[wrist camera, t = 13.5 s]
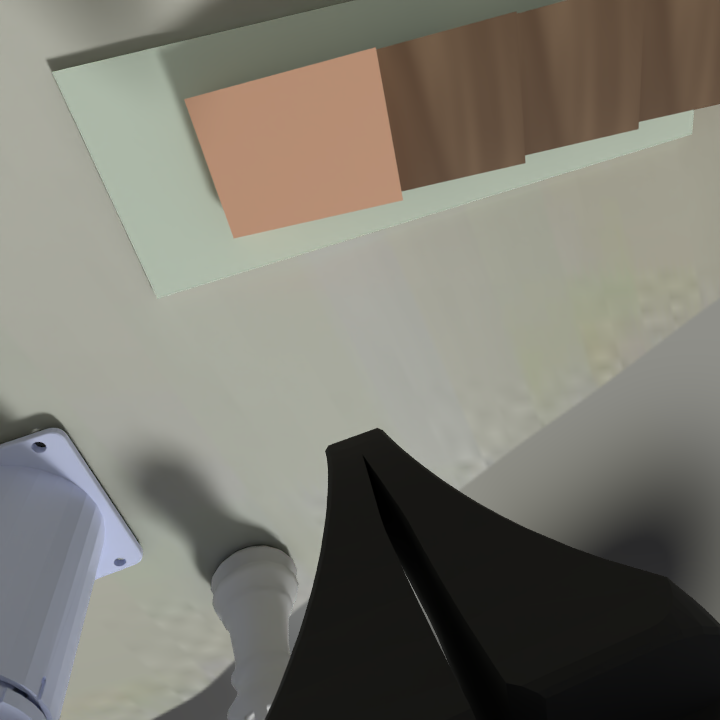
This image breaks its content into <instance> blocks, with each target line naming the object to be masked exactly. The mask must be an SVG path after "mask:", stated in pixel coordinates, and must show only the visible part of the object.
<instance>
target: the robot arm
mask: <svg viewBox="0 0 720 720" xmlns="http://www.w3.org/2000/svg"><path fill="white" fill-rule="evenodd" d="M35 442H42V443H44V444H45V445H46V447H38V446H37V445H36V444H35ZM325 452H326V456H327V463H328V496H327V510H326V519H325V526H324V533H323V540H322V546H321V552H320V557H319V562H318V566H317V571H316V575H315V579H314V583H313V588H312V591H311V595H310V598H309V602H308V605H307V609H306V613H305V616H304V619H303V622H302V626H301V629H300V632H299V635H298V638H297V640H296V643H295V646H294V648H293V651H292V654H291V656H290V659H289V662H288V664H287V667H286V670H285V672H284V675H283V678H282V680H281V683H280V686H279V688H278V690H277V693H276V695H275V698H274V700H273V702H272V704H271V707H270V709H269V711H268V713H267V715H266V718H265V720H720V624H719V623H718V622H717V621H716V620H715V619H714V618H713V617H712V616H711V615H710V614H709V613H708V612H707V611H706V610H705V609H704V608H703V607H702V606H701V605H700V604H698V603H697V602H696V601H695V600H694V599H693V598H692V597H690V596H689V595H688V594H686V593H685V592H684V591H683V590H682V589H680V588H679V587H678V586H677V585H675V584H674V583H673V582H672V581H671V580H670V579H668V578H667V577H664V576H661V575H658V574H654V573H651V572H647V571H643V570H640V569H637V568H633V567H630V566H627V565H623V564H620V563H616V562H613V561H609V560H606V559H603V558H600V557H597V556H594V555H592V554H589V553H586V552H583V551H580V550H577V549H575V548H572V547H570V546H567V545H565V544H563V543H560V542H558V541H556V540H553V539H551V538H548V537H546V536H544V535H541V534H539V533H536V532H534V531H532V530H529V529H527V528H525V527H523V526H521V525H519V524H517V523H515V522H513V521H511V520H509V519H507V518H505V517H503V516H501V515H499V514H497V513H495V512H494V511H492V510H490V509H488V508H486V507H484V506H483V505H481V504H479V503H477V502H476V501H474V500H472V499H471V498H469V497H467V496H466V495H464V494H463V493H461V492H460V491H458V490H457V489H455V488H453V487H452V486H450V485H449V484H447V483H446V482H445V481H443V480H442V479H440V478H439V477H437V476H436V475H435V474H433V473H432V472H431V471H429V470H428V469H427V468H425V467H424V466H423V465H421V464H420V463H419V462H417V461H416V460H415V459H414V458H412V457H411V456H410V455H409V454H408V453H406V452H405V451H404V450H403V449H402V448H401V447H399V446H398V445H397V444H396V443H395V442H394V441H393V440H392V439H391V438H390V437H389V436H388V435H387V434H386V433H385V432H384V431H383V430H381V429H379V428H376V429H373V430H370V431H368V432H365V433H362V434H359V435H357V436H354V437H351V438H348V439H345V440H343V441H340V442H337V443H334V444H332V445H329V446H328V447H327V449H326V451H325ZM142 556H143V549H142V547H141V546H140V544H139V543H138V541H137V540H136V538H135V537H134V535H133V534H132V532H131V531H130V529H129V528H128V526H127V525H126V523H125V522H124V520H123V519H122V517H121V516H120V514H119V512H118V511H117V509H116V508H115V506H114V505H113V503H112V502H111V500H110V499H109V497H108V496H107V494H106V493H105V491H104V490H103V488H102V487H101V485H100V484H99V482H98V481H97V479H96V478H95V476H94V475H93V473H92V472H91V470H90V468H89V467H88V465H87V464H86V462H85V461H84V459H83V458H82V456H81V455H80V453H79V452H78V450H77V449H76V447H75V446H74V444H73V443H72V441H71V440H70V438H69V437H68V435H67V434H66V433H65V432H64V431H63V430H61V429H59V428H48V429H45V430H42V431H39V432H36V433H33V434H30V435H27V436H24V437H21V438H18V439H15V440H12V441H9V442H6V443H3V444H0V720H59V718H60V714H61V710H62V706H63V702H64V698H65V694H66V690H67V687H68V683H69V679H70V675H71V671H72V667H73V663H74V659H75V655H76V651H77V647H78V643H79V639H80V635H81V631H82V627H83V623H84V619H85V615H86V611H87V608H88V604H89V600H90V596H91V592H92V588H93V584H94V580H95V579H98V578H101V577H103V576H106V575H108V574H111V573H114V572H116V571H119V570H122V569H124V568H127V567H130V566H132V565H135V564H137V563H139V562H140V561H141V560H142ZM117 558H124V559H123V560H119V559H117ZM404 572H405V573H404ZM405 574H406V575H405ZM406 576H407V577H408V579H409V581H410V583H411V585H412V587H413V589H414V591H415V593H416V595H417V596H418V599H419V600H420V602H421V604H422V606H423V608H424V610H425V612H426V614H427V616H428V618H429V620H430V622H431V624H432V626H433V628H434V630H435V633H436V635H437V637H438V639H439V641H440V644H441V646H442V649H443V651H444V654H445V656H446V658H447V660H446V659H445V656H444V654H443V652H442V650H441V648H440V646H439V644H438V642H437V640H436V638H435V636H434V634H433V632H432V630H431V628H430V625H429V623H428V621H427V619H426V617H425V615H424V613H423V611H422V609H421V607H420V605H419V603H418V600H417V598H416V596H415V594H414V592H413V590H412V588H411V586H410V583H409V581H408V579H407V577H406ZM447 661H448V662H447ZM448 663H449V664H448Z"/></svg>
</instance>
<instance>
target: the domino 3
mask: <svg viewBox="0 0 720 720" xmlns="http://www.w3.org/2000/svg"><path fill="white" fill-rule="evenodd" d="M717 104H720V0H645V3H644V24H643V45H642V67H641V88H640V109H639V122H641V121H646V120H650V119H655V118H659V117H664V116H668V115H673V114H677V113H682V112H686V111H690V110H695V109H699V108H704V107H708V106H713V105H717Z"/></svg>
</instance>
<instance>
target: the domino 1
mask: <svg viewBox="0 0 720 720" xmlns="http://www.w3.org/2000/svg"><path fill="white" fill-rule="evenodd" d="M376 51H377V57H378V62H379V68H380V74H381V79H382V85H383V90H384V96H385V102H386V107H387V113H388V118H389V124H390V130H391V135H392V141H393V146H394V152H395V158H396V163H397V169H398V174H399V180H400V186H401V191H406V190H411V189H415V188H419V187H424V186H428V185H433V184H437V183H441V182H446V181H450V180H454V179H459V178H463V177H467V176H472V175H476V174H481V173H485V172H489V171H494V170H498V169H502V168H507V167H511V166H515V165H520V164H524V163H526V162H525V145H524V128H523V111H522V93H521V76H520V59H519V42H518V24H517V11H515V12H512V13H508V14H504V15H501V16H497V17H493V18H490V19H486V20H482V21H479V22H475V23H471V24H468V25H464V26H460V27H457V28H453V29H449V30H446V31H442V32H438V33H435V34H431V35H427V36H424V37H420V38H416V39H413V40H409V41H405V42H402V43H398V44H394V45H391V46H387V47H383V48H380V49H376Z"/></svg>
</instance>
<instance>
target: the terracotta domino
mask: <svg viewBox="0 0 720 720" xmlns="http://www.w3.org/2000/svg"><path fill="white" fill-rule="evenodd" d="M184 101H185V103H186V106H187V109H188V112H189V115H190V117H191V120H192V123H193V126H194V129H195V131H196V134H197V137H198V140H199V143H200V145H201V148H202V151H203V154H204V157H205V159H206V162H207V165H208V168H209V171H210V173H211V176H212V179H213V182H214V185H215V187H216V190H217V193H218V196H219V199H220V201H221V204H222V207H223V210H224V213H225V215H226V218H227V221H228V224H229V227H230V229H231V232H232V235H233V238H238V237H243V236H247V235H252V234H256V233H261V232H265V231H269V230H274V229H278V228H283V227H287V226H292V225H296V224H300V223H305V222H309V221H314V220H318V219H323V218H327V217H331V216H336V215H340V214H345V213H349V212H354V211H358V210H362V209H367V208H371V207H376V206H380V205H385V204H389V203H393V202H398V201H402V200H403V197H402V191H401V186H400V180H399V174H398V169H397V163H396V158H395V152H394V146H393V141H392V135H391V130H390V124H389V118H388V113H387V107H386V102H385V96H384V90H383V85H382V79H381V74H380V68H379V62H378V57H377V51H376V47H375V48H371V49H368V50H364V51H360V52H356V53H353V54H349V55H345V56H342V57H338V58H334V59H331V60H327V61H323V62H320V63H316V64H312V65H309V66H305V67H301V68H298V69H294V70H290V71H286V72H283V73H279V74H275V75H272V76H268V77H264V78H261V79H257V80H253V81H250V82H246V83H242V84H239V85H235V86H231V87H227V88H224V89H220V90H216V91H213V92H209V93H205V94H202V95H198V96H194V97H191V98H187V99H184Z"/></svg>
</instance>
